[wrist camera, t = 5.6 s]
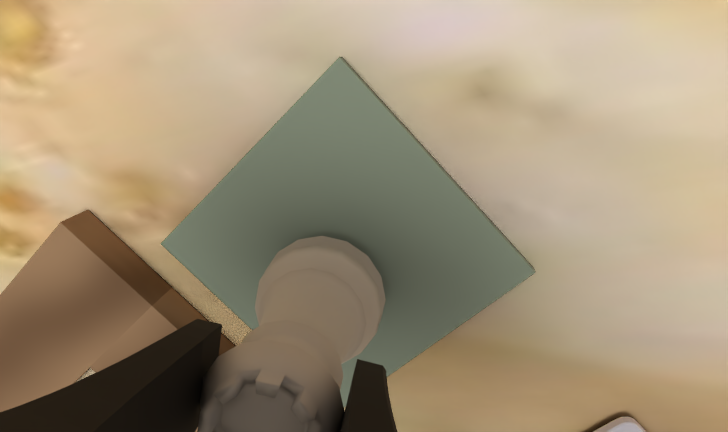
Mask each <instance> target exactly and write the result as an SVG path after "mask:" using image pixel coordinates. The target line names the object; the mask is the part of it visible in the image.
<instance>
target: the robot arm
mask: <svg viewBox="0 0 728 432" xmlns="http://www.w3.org/2000/svg"><path fill="white" fill-rule="evenodd" d="M221 329H222V325H221V324H217V323H213V322H209V321H205V320H201V319H196V320H194V321H192V322H190V323H189V324H187V325H185V326H183V327H181V328H180V329H178V330H176V331H174V332H172V333H171V334H169V335H167V336H165V337H164V338H162V339H160V340H158V341H156V342H155V343H153V344H151V345H149V346H147V347H145V348H144V349H142V350H140V351H138V352H136V353H134V354H132V355H131V356H129V357H127V358H125V359H123V360H121V361H119V362H117V363H115V364H113V365H111V366H109V367H107V368H105V369H103V370H101V371H99V372H96V373H94V374H92V375H90V376H88V377H86V378H84V379H82V380H80V381H78V382H76V383H73V384H71V385H69V386H67V387H64V388H62V389H60V390H57V391H55V392H53V393H50V394H48V395H45V396H43V397H40V398H37V399H35V400H32V401H30V402H27V403H25V404H22V405H20V406H17V407H14V408H11V409H9V410H6V411H3V412H0V432H195V431H196V429H197V427H198V424H199V417H200V411H201V407H200V396H201V390H202V383H203V378H204V376H205V375H206V373H207V372H208V370H209V369H210V367H211V366H212V364H213V363H214V361H215V360H216V358H217V357H218V356H219V348H220V339H221ZM340 432H397V429H396V425H395V421H394V417H393V413H392V409H391V404H390V399H389V393H388V387H387V377H386V369H385V368H384V366H383V365H379V364H375V363H371V362H367V361H363V360H359V359H357V362H356V366H355V370H354V374H353V378H352V382H351V387H350V391H349V395H348V400H347V404H346V408H345V413H344V417H343V421H342V426H341V430H340ZM593 432H646V431H645V430H644V429H643V427H642V426H641V425H640V424H639V423H638V422H637V421H636V420H635V419H633V418H631V417H620V418H617V419H615V420H613V421H611V422H610V423H608V424H606V425H604V426H602V427H600V428H599V429H597V430H595V431H593Z"/></svg>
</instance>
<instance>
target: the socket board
mask: <svg viewBox="0 0 728 432" xmlns="http://www.w3.org/2000/svg"><path fill="white" fill-rule="evenodd" d="M196 319H201V320H205V321H207V320H206V319H205V318H204V317H203V316H202V315H201V314H200V313H199V312H198V311H197V310H196V309H194V308H193V307H192V306H191V305H190V304H189V303H188V302H187V301H186V300H185V299H184V298H183V297H182V296H180V295H179V294H178V293H177V292H176V291H175V290H174V289H173V288H172V287H171V286H170V285H169V284H168V283H166V282H165V281H164V280H163V279H162V278H161V277H160V276H159V275H158V274H157V273H156V272H155V271H153V270H152V269H151V268H150V267H149V266H148V265H147V264H146V263H145V262H144V261H143V260H142V259H141V258H139V257H138V256H137V255H136V254H135V253H134V252H133V251H132V250H131V249H130V248H129V247H128V246H126V245H125V244H124V243H123V242H122V241H121V240H120V239H119V238H118V237H117V236H116V235H115V234H114V233H112V232H111V231H110V230H109V229H108V228H107V227H106V226H105V225H104V224H103V223H102V222H101V221H99V220H98V219H97V218H96V217H95V216H94V215H93V214H92V213H91V212H90V211H89V210H86V211H84V212H82V213H80V214H77V215H75V216H73V217H71V218H69V219H67V220H65V221H62V222H60V223H59V225H58V226H57V227H56V228H55V229H54V231H53V232H52V233H51V234H50V236H49V237H48V238H47V239H46V240H45V242H44V243H43V244H42V245H41V246H40V248H39V249H38V250H37V251H36V252H35V254H34V255H33V256H32V257H31V258H30V260H29V261H28V262H27V263H26V265H25V266H24V267H23V268H22V269H21V271H20V272H19V273H18V274H17V275H16V277H15V278H14V279H13V280H12V281H11V283H10V284H9V285H8V286H7V287H6V289H5V290H4V291H3V292H2V294H1V295H0V412H3V411H6V410H9V409H11V408H14V407H17V406H20V405H22V404H25V403H27V402H30V401H32V400H35V399H37V398H40V397H43V396H45V395H48V394H50V393H53V392H55V391H57V390H60V389H62V388H64V387H67V386H69V385H71V384H73V383H75V382H76V381H77V380H78V379H79V378H80V377H81V376H82V375H83V374H84V373H85V372H86V371H87V370H88V369H89V368H91V369H93V370H94V371H95V372H99V371H101V370H103V369H105V368H107V367H109V366H111V365H113V364H115V363H117V362H119V361H121V360H123V359H125V358H127V357H129V356H131V355H132V354H134V353H136V352H138V351H140V350H142V349H144V348H145V347H147V346H149V345H151V344H153V343H155V342H156V341H158V340H160V339H162V338H164V337H165V336H167V335H169V334H171V333H172V332H174V331H176V330H178V329H180V328H181V327H183V326H185V325H187V324H189V323H190V322H192V321H194V320H196ZM234 347H235V346H234V345H233V344H232V343H231V342H230V341H229V340H228V339H227V338H226V337H225V336H224V335H223V334H221V339H220V348H219V356H220V355H222V354H223V353H225V352H227V351H228V350H230V349H232V348H234ZM197 431H198V427H197V429H196V431H195V432H197Z"/></svg>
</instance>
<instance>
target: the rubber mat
mask: <svg viewBox="0 0 728 432" xmlns="http://www.w3.org/2000/svg"><path fill="white" fill-rule="evenodd" d="M317 236H326V237H330V238H334V239H339V240H343V241H347V242H349V243H350V244H351V245H353V246H354V247H356V248H357V249H359V250H360V251H362V252H363V253H365V254H366V255H367V256H368V257H369V258H370V260H371V261H372V263H373V264H374V266H375V267H376V269H377V271H378V272H379V274H380V275H381V277H382V283H383V288H384V293H385V299H386V300H385V305H384V309H383V313H382V317H381V321H380V323H379V326H378V330H377V333H376V334H375V336H374V337H373V338H372V339H371V341H370V342H369V343H368V345H367V346H366V347H365V348H364V350H363V351H362V352H361V353H360V354H359V355H357V356H355V357H353V358H352V359H350V360H348V361H346V362H344V363H343V364H341V366H342V371H343V380H342V384H341V389H340V393H341V398H342V403H343V407H345V406H346V404H347V400H348V395H349V391H350V387H351V382H352V378H353V374H354V370H355V366H356V362H357V359H359V360H363V361H367V362H371V363H375V364H379V365H383V366H384V368H385V369H386V377H388V376H389V375H390V374H392V373H393V372H395V371H396V370H398V369H399V368H400V367H402V366H403V365H405V364H406V363H407V362H409V361H410V360H412V359H413V358H415V357H416V356H417V355H419V354H420V353H422V352H423V351H425V350H426V349H427V348H429V347H430V346H432V345H433V344H434V343H436V342H437V341H439V340H440V339H442V338H443V337H444V336H446V335H447V334H449V333H450V332H452V331H453V330H454V329H456V328H457V327H459V326H460V325H461V324H463V323H464V322H466V321H467V320H469V319H470V318H471V317H473V316H474V315H476V314H477V313H479V312H480V311H481V310H483V309H484V308H486V307H487V306H489V305H490V304H491V303H493V302H494V301H496V300H497V299H498V298H500V297H501V296H503V295H504V294H506V293H507V292H508V291H510V290H511V289H513V288H514V287H516V286H517V285H518V284H520V283H521V282H523V281H524V280H525V279H527V278H528V277H530V276H531V275H533V274H534V273H535V270H534V268H533V267H532V265H531V264H530V263H529V262H528V261H527V260H526V259H525V258H524V257H523V256H522V254H521V253H520V252H519V251H518V250H517V249H516V248H515V247H514V246H513V245H512V243H511V242H510V241H509V240H508V239H507V238H506V237H505V236H504V235H503V234H502V232H501V231H500V230H499V229H498V228H497V227H496V226H495V225H494V224H493V223H492V221H491V220H490V219H489V218H488V217H487V216H486V215H485V214H484V213H483V212H482V210H481V209H480V208H479V207H478V206H477V205H476V204H475V203H474V202H473V201H472V199H471V198H470V197H469V196H468V195H467V194H466V193H465V192H464V191H463V190H462V189H461V187H460V186H459V185H458V184H457V183H456V182H455V181H454V180H453V179H452V178H451V176H450V175H449V174H448V173H447V172H446V171H445V170H444V169H443V168H442V167H441V165H440V164H439V163H438V162H437V161H436V160H435V159H434V158H433V157H432V156H431V154H430V153H429V152H428V151H427V150H426V149H425V148H424V147H423V146H422V145H421V143H420V142H419V141H418V140H417V139H416V138H415V137H414V136H413V135H412V134H411V132H410V131H409V130H408V129H407V128H406V127H405V126H404V125H403V124H402V123H401V121H400V120H399V119H398V118H397V117H396V116H395V115H394V114H393V113H392V112H391V110H390V109H389V108H388V107H387V106H386V105H385V104H384V103H383V102H382V101H381V99H380V98H379V97H378V96H377V95H376V94H375V93H374V92H373V91H372V90H371V88H370V87H369V86H368V85H367V84H366V83H365V82H364V81H363V80H362V79H361V77H360V76H359V75H358V74H357V73H356V72H355V71H354V70H353V69H352V68H351V66H350V65H349V64H348V63H347V62H346V61H345V60H344V59H343V58H342V57H339V58H338V59H337V60H336V61H335V62H334V64H333V65H332V66H331V67H330V68H329V69H328V70H327V71H326V72H325V73H324V74H323V75H322V76H321V77H320V78H319V79H318V80H317V81H316V82H315V83H314V84H313V85H312V86H311V87H310V89H309V90H308V91H307V92H306V93H305V94H304V95H303V96H302V97H301V98H300V99H299V100H298V101H297V102H296V103H295V104H294V105H293V106H292V107H291V108H290V109H289V110H288V111H287V113H286V114H285V115H284V116H283V117H282V118H281V119H280V120H279V121H278V122H277V123H276V124H275V125H274V126H273V127H272V128H271V129H270V130H269V131H268V132H267V133H266V134H265V135H264V136H263V138H262V139H261V140H260V141H259V142H258V143H257V144H256V145H255V146H254V147H253V148H252V149H251V150H250V151H249V152H248V153H247V154H246V155H245V156H244V157H243V158H242V159H241V160H240V162H239V163H238V164H237V165H236V166H235V167H234V168H233V169H232V170H231V171H230V172H229V173H228V174H227V175H226V176H225V177H224V178H223V179H222V180H221V181H220V182H219V183H218V184H217V185H216V187H215V188H214V189H213V190H212V191H211V192H210V193H209V194H208V195H207V196H206V197H205V198H204V199H203V200H202V201H201V202H200V203H199V204H198V205H197V206H196V207H195V208H194V209H193V211H192V212H191V213H190V214H189V215H188V216H187V217H186V218H185V219H184V220H183V221H182V222H181V223H180V224H179V225H178V226H177V227H176V228H175V229H174V230H173V231H172V232H171V233H170V234H169V236H168V237H167V238H166V239H165V240H164V241H163V242H162V243H161V245H162V246H163V247H165V248H166V249H167V250H168V251H169V252H170V253H171V254H172V255H173V256H174V257H175V258H176V259H177V260H178V261H179V262H180V263H182V264H183V265H184V266H185V267H186V268H187V269H188V270H189V271H190V272H191V273H192V274H193V275H194V276H195V277H196V278H197V279H199V280H200V281H201V282H202V283H203V284H204V285H205V286H206V287H207V288H208V289H209V290H210V291H211V292H212V293H213V294H215V295H216V296H217V297H218V298H219V299H220V300H221V301H222V302H223V303H224V304H225V305H226V306H227V307H228V308H229V309H230V310H232V311H233V312H234V313H235V314H236V315H237V316H238V317H239V318H240V319H241V320H242V321H243V322H244V323H245V324H246V325H247V326H249V327H250V328H251V329H252V330H254V329H255V328H257V327H259V323H258V319H257V315H256V311H255V302H256V297H257V291H258V285H259V280H260V279H261V277H262V276H263V274H264V273H265V270H266V269H267V267H268V266H269V264H270V263H271V262H272V260H273V259H274V257H275V256H276V254H277V253H278V252H279V251H280V250H282V249H284V248H285V247H287V246H288V245H290V244H292V243H293V242H295V241H296V240H298V239H305V238H311V237H317Z"/></svg>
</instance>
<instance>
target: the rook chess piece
mask: <svg viewBox="0 0 728 432" xmlns="http://www.w3.org/2000/svg"><path fill="white" fill-rule="evenodd" d="M385 300H386V299H385V293H384V288H383V283H382V277H381V275H380V274H379V272H378V271H377V269H376V267H375V266H374V264H373V263H372V261H371V260H370V258H369V257H368V256H367V255H366V254H365V253H363V252H362V251H360V250H359V249H357V248H356V247H354V246H353V245H351V244H350V243H349V242H347V241H343V240H339V239H334V238H330V237H326V236H317V237H311V238H305V239H298V240H296V241H295V242H293V243H292V244H290V245H288V246H287V247H285V248H284V249H282V250H280V251H279V252H278V253H277V254H276V256H275V257H274V259H273V260H272V262H271V263H270V264H269V266H268V267H267V269H266V270H265V273H264V274H263V276H262V277H261V279H260V280H259V285H258V291H257V297H256V302H255V311H256V315H257V319H258V323H259V327H257V328H255V329H254V330H252V331H250V332H249V333H247V335H246V336H245V337H244V339H243V340H242V342H241V343H240V344H239V345H237V346H235V347H234V348H232V349H230V350H228V351H227V352H225V353H223V354H222V355H220V356H218V357H217V358H216V360H215V361H214V363H213V364H212V366H211V367H210V369H209V370H208V372H207V373H206V375H205V376H204V378H203V383H202V390H201V396H200V407H201V411H200V417H199V424H198V431H197V432H340V430H341V426H342V421H343V417H344V413H345V412H344V407H343V403H342V398H341V393H340V389H341V384H342V380H343V371H342V366H341V364H343V363H344V362H346V361H348V360H350V359H352V358H353V357H355V356H357V355H359V354H360V353H361V352H362V351H363V350H364V348H365V347H366V346H367V345H368V343H369V342H370V341H371V339H372V338H373V337H374V336H375V334H376V333H377V330H378V326H379V323H380V321H381V317H382V313H383V309H384V305H385Z"/></svg>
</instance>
